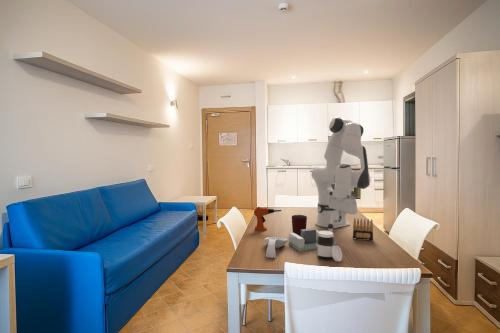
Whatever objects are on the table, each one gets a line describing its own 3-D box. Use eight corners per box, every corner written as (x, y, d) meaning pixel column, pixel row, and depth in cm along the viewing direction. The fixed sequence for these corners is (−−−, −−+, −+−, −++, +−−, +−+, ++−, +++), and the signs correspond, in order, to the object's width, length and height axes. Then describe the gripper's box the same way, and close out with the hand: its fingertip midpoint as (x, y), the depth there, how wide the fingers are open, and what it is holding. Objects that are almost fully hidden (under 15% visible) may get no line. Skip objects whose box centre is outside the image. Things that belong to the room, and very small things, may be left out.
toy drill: (282, 231, 174) (279, 206, 174) (253, 231, 182) (251, 208, 181) (284, 229, 179) (282, 205, 179) (256, 229, 186) (253, 206, 186)
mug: (290, 231, 180) (291, 213, 179) (305, 231, 179) (305, 213, 178) (292, 236, 168) (292, 218, 167) (307, 237, 167) (307, 218, 166)
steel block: (312, 241, 155) (313, 228, 155) (316, 242, 152) (316, 229, 152) (300, 242, 153) (300, 229, 152) (303, 244, 150) (303, 231, 150)
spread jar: (317, 252, 143) (318, 229, 142) (341, 254, 139) (342, 231, 139) (316, 261, 131) (316, 236, 130) (342, 264, 128) (342, 238, 127)
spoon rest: (266, 242, 159) (266, 229, 159) (287, 243, 157) (287, 230, 157) (259, 257, 136) (259, 242, 136) (283, 259, 134) (284, 244, 133)
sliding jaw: (326, 236, 163) (327, 221, 162) (338, 242, 152) (339, 226, 152) (311, 238, 159) (312, 222, 159) (323, 244, 149) (323, 227, 149)
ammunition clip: (352, 239, 164) (353, 218, 163) (352, 238, 165) (353, 217, 165) (373, 240, 160) (373, 219, 160) (372, 239, 162) (373, 218, 161)
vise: (324, 239, 162) (324, 229, 162) (336, 245, 152) (336, 234, 151) (288, 244, 155) (288, 233, 155) (298, 250, 145) (298, 239, 144)
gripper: (360, 196, 149) (359, 223, 149) (335, 191, 168) (335, 215, 169) (350, 197, 147) (349, 224, 147) (326, 191, 166) (325, 215, 166)
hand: (341, 219), depth 158 cm, fingers closed
